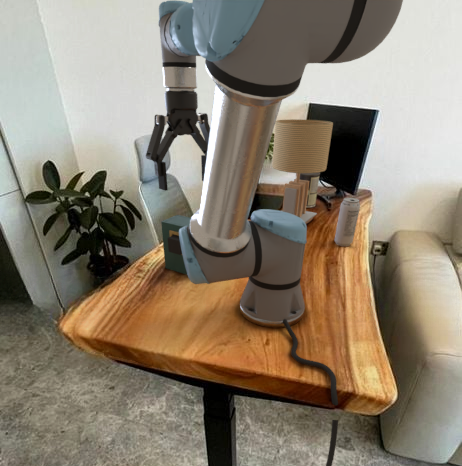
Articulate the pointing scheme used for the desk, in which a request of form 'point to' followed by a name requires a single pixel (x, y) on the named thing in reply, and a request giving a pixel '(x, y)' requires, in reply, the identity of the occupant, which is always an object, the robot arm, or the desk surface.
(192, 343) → the desk surface
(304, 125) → the desk lamp
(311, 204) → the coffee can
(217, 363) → the desk surface
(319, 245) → the desk surface
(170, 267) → the teal green box
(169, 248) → the button
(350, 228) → the energy drink can
